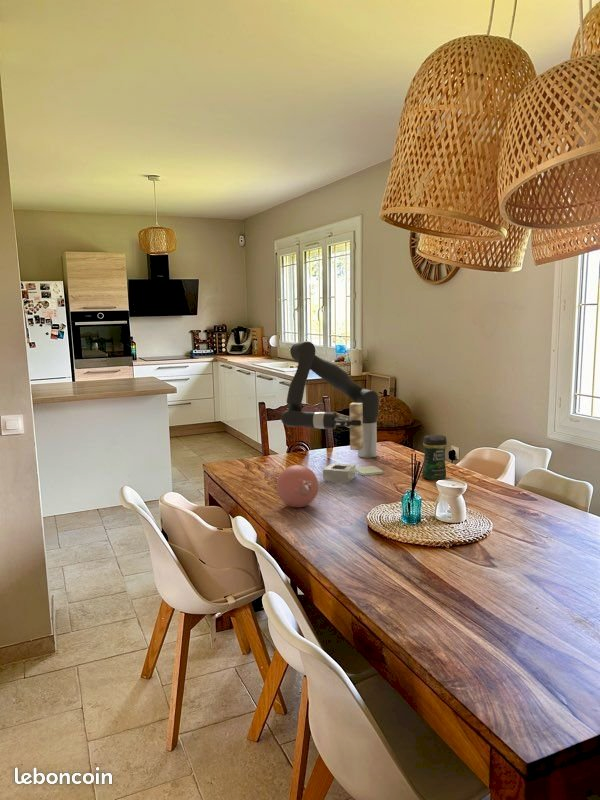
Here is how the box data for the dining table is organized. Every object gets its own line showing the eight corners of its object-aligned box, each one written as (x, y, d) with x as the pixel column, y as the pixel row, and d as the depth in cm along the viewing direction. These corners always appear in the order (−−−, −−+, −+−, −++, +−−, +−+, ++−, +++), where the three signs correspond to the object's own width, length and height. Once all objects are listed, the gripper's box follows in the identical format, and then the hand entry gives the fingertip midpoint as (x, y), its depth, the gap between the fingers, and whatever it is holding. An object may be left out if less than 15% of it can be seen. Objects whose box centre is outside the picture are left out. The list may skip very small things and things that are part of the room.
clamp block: (323, 480, 241) (322, 469, 240) (331, 474, 251) (331, 463, 250) (347, 483, 237) (347, 471, 236) (355, 476, 247) (355, 465, 246)
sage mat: (353, 470, 257) (353, 468, 256) (373, 468, 260) (373, 465, 259) (362, 475, 247) (362, 473, 247) (383, 473, 250) (383, 471, 250)
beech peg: (350, 449, 246) (349, 404, 243) (353, 447, 250) (352, 402, 247) (360, 450, 245) (359, 404, 242) (363, 447, 249) (362, 402, 246)
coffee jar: (427, 481, 238) (428, 437, 235) (419, 476, 245) (420, 434, 243) (449, 479, 239) (449, 436, 237) (440, 474, 247) (441, 432, 244)
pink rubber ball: (285, 519, 195) (284, 476, 193) (272, 501, 215) (271, 462, 212) (327, 514, 199) (327, 472, 197) (311, 497, 218) (311, 459, 216)
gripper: (319, 414, 244) (357, 416, 238) (330, 409, 257) (366, 410, 251) (319, 431, 245) (358, 433, 239) (330, 425, 258) (366, 427, 252)
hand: (362, 422), depth 245 cm, fingers closed on beech peg, 4 cm apart
